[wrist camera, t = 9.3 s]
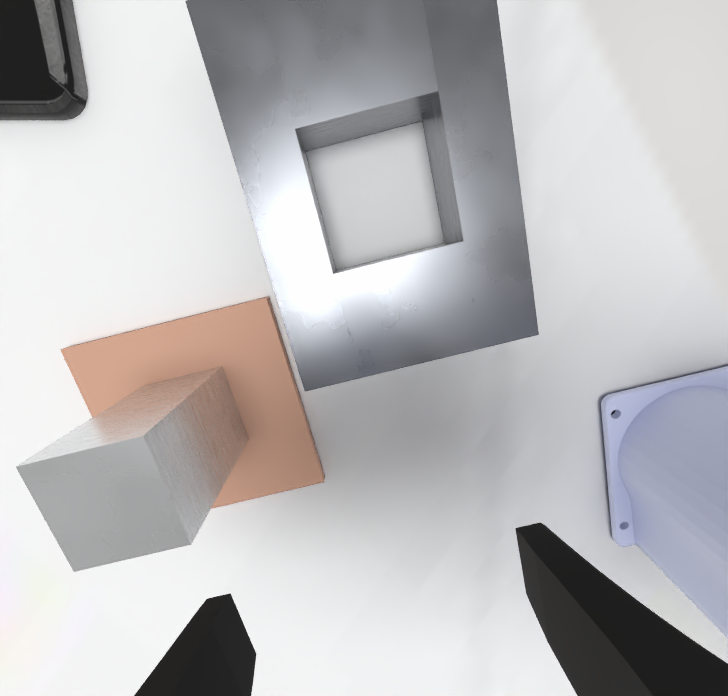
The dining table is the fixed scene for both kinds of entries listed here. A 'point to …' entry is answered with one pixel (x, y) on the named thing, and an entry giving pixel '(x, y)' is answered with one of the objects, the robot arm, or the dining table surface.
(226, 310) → the mat
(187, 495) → the steel peg
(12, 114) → the phone
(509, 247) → the socket plate
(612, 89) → the dining table surface
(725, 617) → the robot arm
